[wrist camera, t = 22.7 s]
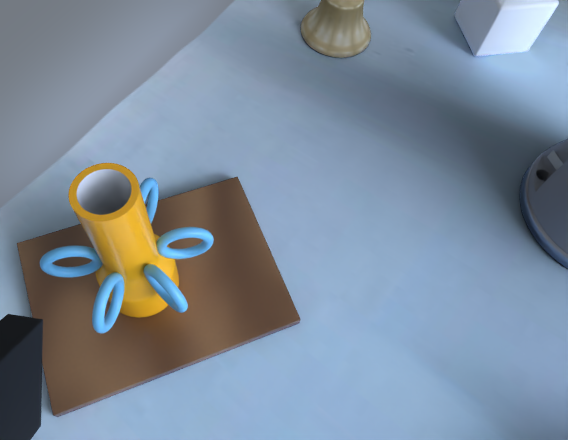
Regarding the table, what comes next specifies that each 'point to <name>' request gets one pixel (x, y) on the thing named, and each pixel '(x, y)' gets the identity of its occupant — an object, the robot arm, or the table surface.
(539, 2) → the medicine bottle
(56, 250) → the cylinder
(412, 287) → the table surface
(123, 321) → the plate
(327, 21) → the hand bell
